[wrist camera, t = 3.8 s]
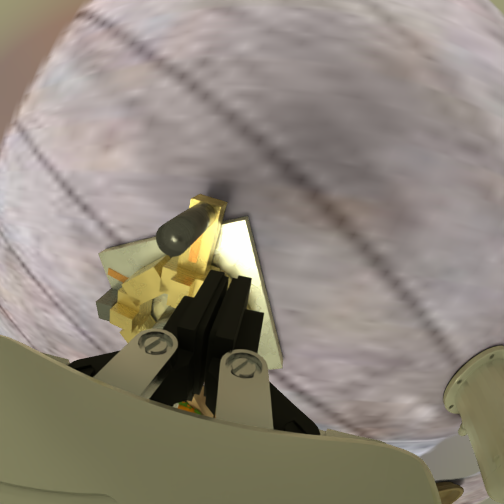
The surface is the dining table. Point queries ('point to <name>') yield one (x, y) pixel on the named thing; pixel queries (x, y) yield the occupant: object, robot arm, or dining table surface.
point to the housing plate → (225, 257)
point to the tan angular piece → (172, 266)
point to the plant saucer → (449, 492)
